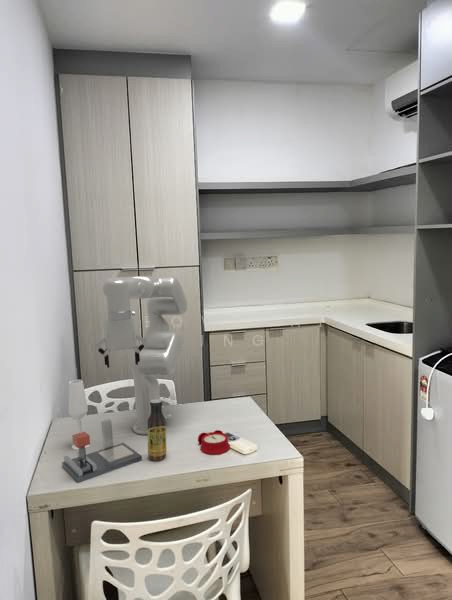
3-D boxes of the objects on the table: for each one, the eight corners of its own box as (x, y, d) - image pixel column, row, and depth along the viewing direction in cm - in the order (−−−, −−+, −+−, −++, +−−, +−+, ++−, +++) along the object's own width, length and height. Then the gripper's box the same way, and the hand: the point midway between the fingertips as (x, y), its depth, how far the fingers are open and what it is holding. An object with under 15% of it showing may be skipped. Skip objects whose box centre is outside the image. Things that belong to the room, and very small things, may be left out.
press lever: (86, 464, 152) (84, 431, 151) (92, 469, 148) (90, 435, 147) (74, 468, 150) (71, 434, 148) (80, 473, 146) (77, 439, 144)
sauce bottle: (149, 463, 155) (145, 405, 152) (147, 455, 161) (143, 399, 158) (169, 459, 157) (165, 402, 154) (166, 451, 163) (162, 396, 160)
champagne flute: (89, 440, 175) (84, 377, 172) (91, 447, 169) (86, 382, 166) (70, 443, 173) (65, 380, 170) (72, 450, 167) (66, 385, 164)
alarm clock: (205, 448, 156) (193, 423, 169) (205, 464, 158) (193, 438, 172) (234, 443, 159) (221, 419, 173) (234, 458, 161) (220, 433, 175)
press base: (123, 446, 168) (121, 415, 167) (142, 460, 157) (139, 427, 156) (62, 466, 155) (59, 433, 153) (78, 482, 144) (75, 447, 142)
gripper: (144, 312, 165) (146, 360, 167) (93, 316, 160) (96, 365, 162) (146, 315, 158) (149, 365, 159) (92, 319, 153) (96, 370, 155)
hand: (122, 365), depth 161 cm, fingers open, 9 cm apart
